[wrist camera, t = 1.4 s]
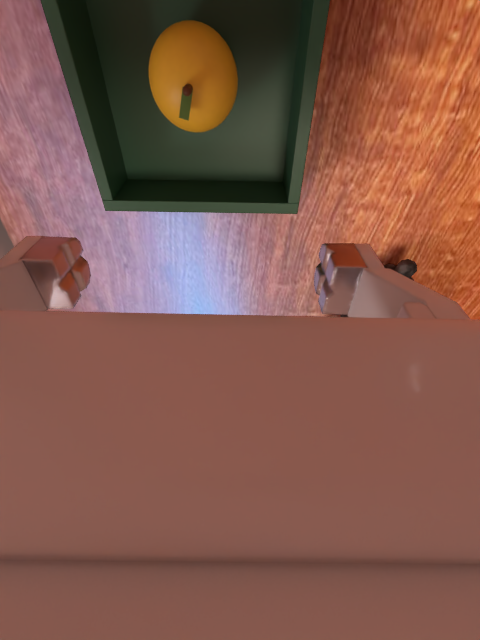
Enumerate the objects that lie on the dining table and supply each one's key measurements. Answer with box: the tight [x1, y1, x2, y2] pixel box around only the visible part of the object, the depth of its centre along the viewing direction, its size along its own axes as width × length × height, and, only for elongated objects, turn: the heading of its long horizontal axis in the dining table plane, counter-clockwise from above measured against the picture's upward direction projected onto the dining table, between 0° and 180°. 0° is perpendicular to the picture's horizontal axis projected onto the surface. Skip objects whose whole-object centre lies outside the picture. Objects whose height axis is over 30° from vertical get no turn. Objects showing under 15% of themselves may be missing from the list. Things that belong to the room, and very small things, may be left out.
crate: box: [41, 0, 330, 214], centre depth 21 cm, size 17×16×5 cm
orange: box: [149, 20, 238, 132], centre depth 20 cm, size 6×6×7 cm
